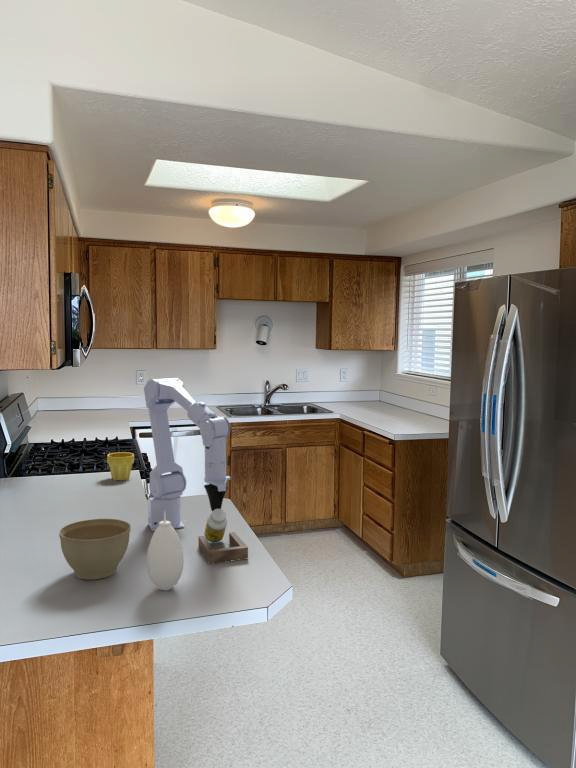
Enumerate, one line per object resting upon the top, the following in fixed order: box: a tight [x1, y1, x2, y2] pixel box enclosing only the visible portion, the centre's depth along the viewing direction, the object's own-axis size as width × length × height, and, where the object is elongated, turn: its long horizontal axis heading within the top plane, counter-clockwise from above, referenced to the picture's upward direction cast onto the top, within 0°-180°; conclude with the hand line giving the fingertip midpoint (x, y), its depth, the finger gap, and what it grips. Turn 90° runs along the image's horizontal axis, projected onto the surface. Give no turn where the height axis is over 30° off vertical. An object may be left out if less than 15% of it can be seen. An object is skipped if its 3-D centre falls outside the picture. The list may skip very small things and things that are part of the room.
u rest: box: [198, 531, 249, 565], centre depth 152 cm, size 10×12×3 cm
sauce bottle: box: [146, 511, 184, 592], centre depth 130 cm, size 8×8×18 cm
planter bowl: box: [58, 518, 131, 580], centre depth 139 cm, size 16×16×11 cm
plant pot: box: [106, 451, 135, 481], centre depth 230 cm, size 10×10×10 cm
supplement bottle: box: [203, 508, 228, 544], centre depth 158 cm, size 5×5×10 cm
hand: (215, 511), depth 158 cm, fingers closed
